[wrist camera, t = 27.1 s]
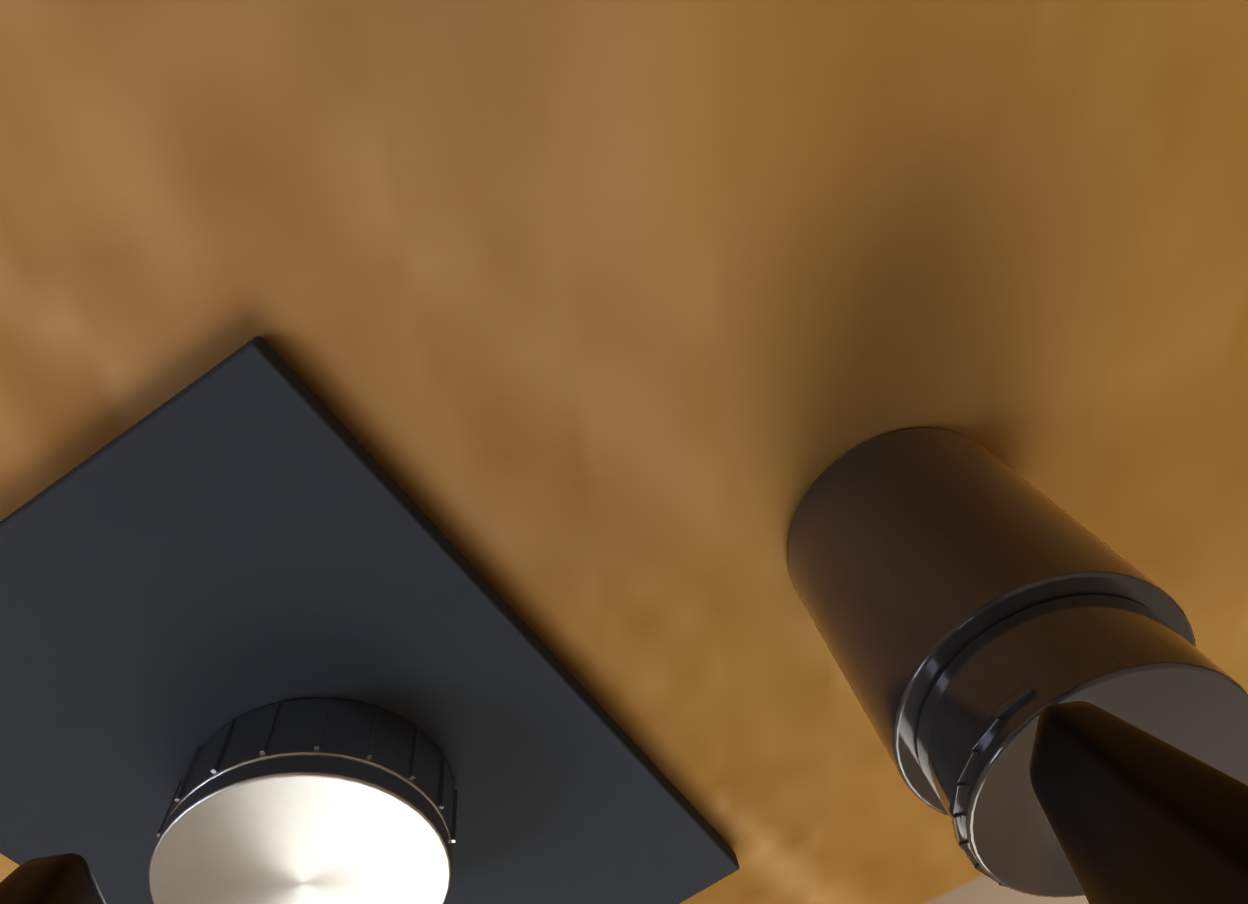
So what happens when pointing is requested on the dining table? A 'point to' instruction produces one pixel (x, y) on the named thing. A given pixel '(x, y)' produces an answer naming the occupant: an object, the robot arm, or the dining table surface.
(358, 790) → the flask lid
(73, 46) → the dining table surface
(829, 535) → the dark brown cylinder
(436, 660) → the slate mat
